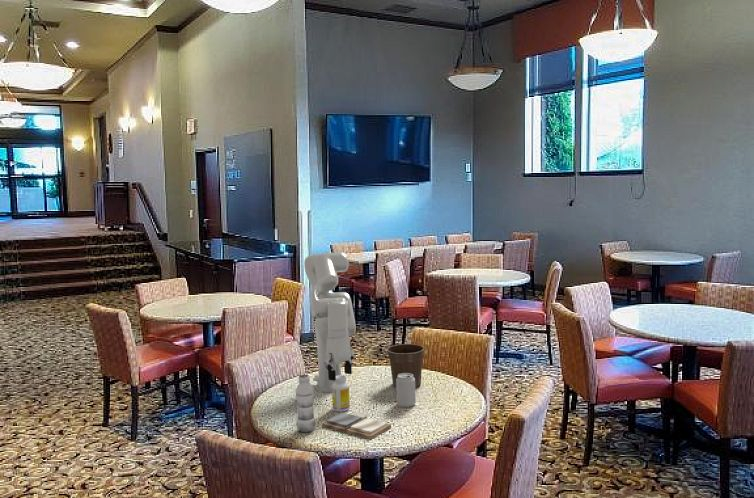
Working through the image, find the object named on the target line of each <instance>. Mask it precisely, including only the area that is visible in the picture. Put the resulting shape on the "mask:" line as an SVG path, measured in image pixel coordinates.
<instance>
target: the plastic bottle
mask: <svg viewBox="0 0 754 498" xmlns="http://www.w3.org/2000/svg"><path fill="white" fill-rule="evenodd" d="M310 381H311V379H310V374H301V375H299V376H298V385H297V386H296V388H295V398H296V401H297V419H296V428H297V430H298V431H299V432H301V433H309V432H313V430H315V429H316V419H315V414H314V413H315V412H314V399H315V397H314V396H315V389H314V386H313V385H312V384H311V383H310Z"/></svg>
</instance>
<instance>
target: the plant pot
mask: <svg viewBox="0 0 754 498" xmlns="http://www.w3.org/2000/svg"><path fill="white" fill-rule="evenodd" d="M424 351H425V346H423V345H420V344H417V343H415V344H414V343H403V344H402V343H401V344H394V345H390V346H388V347H387V348H386V352H387V355H388V359H389V364H390V371H391V378H392V379H391V380H392V386H393V387H394V388H396V378H397V377H398V375H399V374H402V373H410V374H413V377H414V378H415V389H416V388H419V386H421V385H422V372H423V371H422V368H423V358H424Z"/></svg>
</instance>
